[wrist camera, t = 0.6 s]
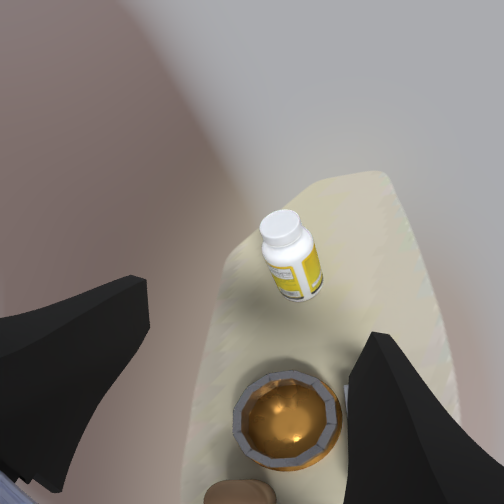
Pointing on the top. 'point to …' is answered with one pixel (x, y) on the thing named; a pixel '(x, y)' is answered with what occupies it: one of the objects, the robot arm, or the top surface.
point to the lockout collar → (287, 421)
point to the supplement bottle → (291, 255)
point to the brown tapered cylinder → (240, 492)
